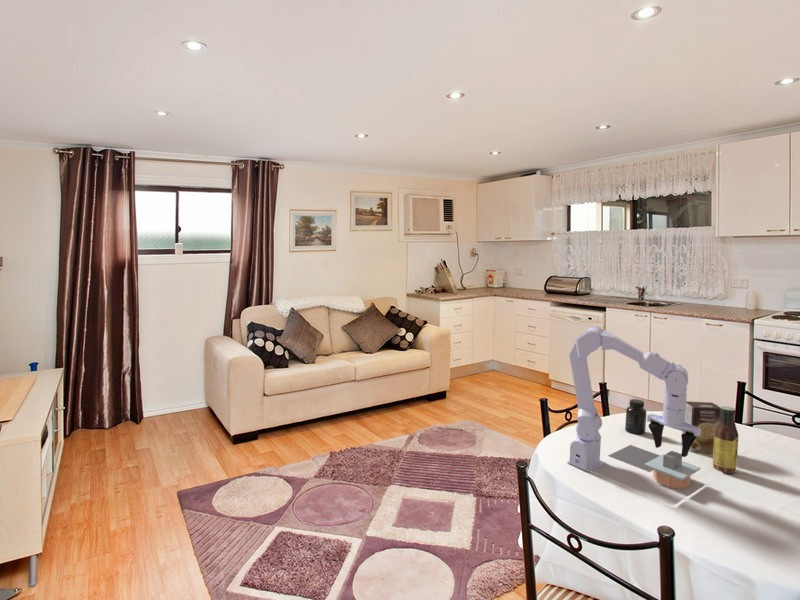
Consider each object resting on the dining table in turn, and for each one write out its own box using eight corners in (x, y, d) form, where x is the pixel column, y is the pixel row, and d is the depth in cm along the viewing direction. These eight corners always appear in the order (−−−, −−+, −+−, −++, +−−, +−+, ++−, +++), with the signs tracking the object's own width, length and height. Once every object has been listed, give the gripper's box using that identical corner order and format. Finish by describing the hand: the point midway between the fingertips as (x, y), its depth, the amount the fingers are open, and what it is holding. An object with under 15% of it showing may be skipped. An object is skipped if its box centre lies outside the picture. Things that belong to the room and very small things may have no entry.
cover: (682, 480, 140) (683, 466, 139) (644, 465, 149) (645, 452, 148) (700, 469, 146) (701, 456, 146) (662, 456, 155) (663, 443, 154)
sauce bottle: (739, 475, 152) (745, 413, 149) (717, 473, 153) (722, 411, 150) (730, 465, 158) (735, 405, 155) (708, 463, 159) (713, 404, 157)
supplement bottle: (648, 436, 181) (650, 404, 179) (629, 435, 181) (631, 404, 180) (640, 428, 188) (642, 398, 186) (621, 428, 188) (623, 398, 186)
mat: (649, 473, 153) (649, 471, 153) (607, 457, 164) (607, 455, 164) (671, 461, 161) (671, 459, 161) (630, 446, 173) (630, 444, 173)
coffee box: (689, 453, 167) (693, 407, 165) (680, 445, 173) (684, 401, 171) (718, 454, 166) (722, 408, 164) (708, 446, 172) (712, 401, 170)
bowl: (679, 492, 142) (680, 478, 141) (648, 480, 149) (649, 466, 148) (694, 483, 147) (695, 469, 146) (663, 471, 154) (664, 458, 154)
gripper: (707, 411, 142) (703, 456, 144) (656, 397, 154) (653, 439, 156) (695, 416, 138) (692, 463, 140) (644, 402, 150) (641, 445, 151)
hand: (671, 451), depth 147 cm, fingers open, 7 cm apart
